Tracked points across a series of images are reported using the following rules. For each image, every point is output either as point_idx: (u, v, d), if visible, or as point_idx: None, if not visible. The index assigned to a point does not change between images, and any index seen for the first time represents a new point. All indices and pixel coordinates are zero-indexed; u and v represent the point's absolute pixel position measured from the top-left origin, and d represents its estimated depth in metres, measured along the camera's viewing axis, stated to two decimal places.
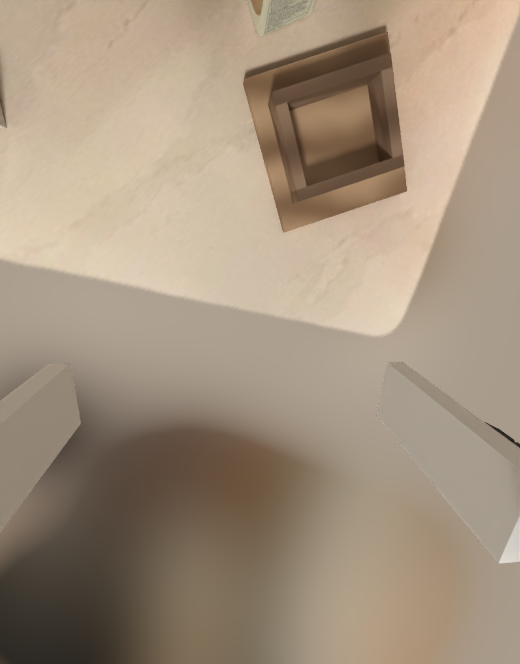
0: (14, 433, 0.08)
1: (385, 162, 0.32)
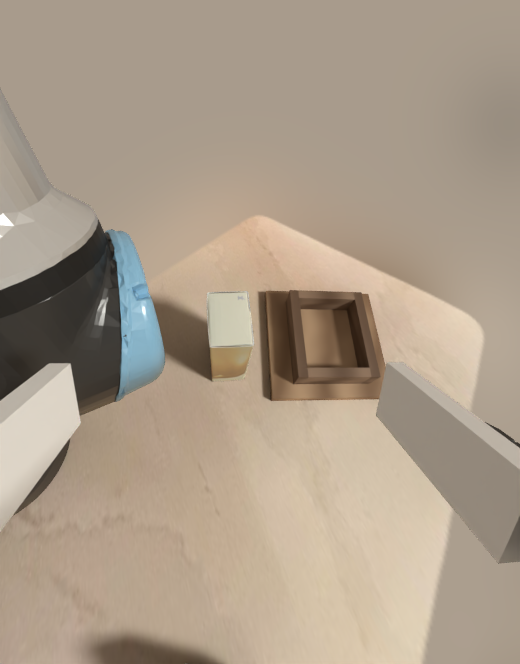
0: (14, 433, 0.08)
1: (357, 304, 0.41)
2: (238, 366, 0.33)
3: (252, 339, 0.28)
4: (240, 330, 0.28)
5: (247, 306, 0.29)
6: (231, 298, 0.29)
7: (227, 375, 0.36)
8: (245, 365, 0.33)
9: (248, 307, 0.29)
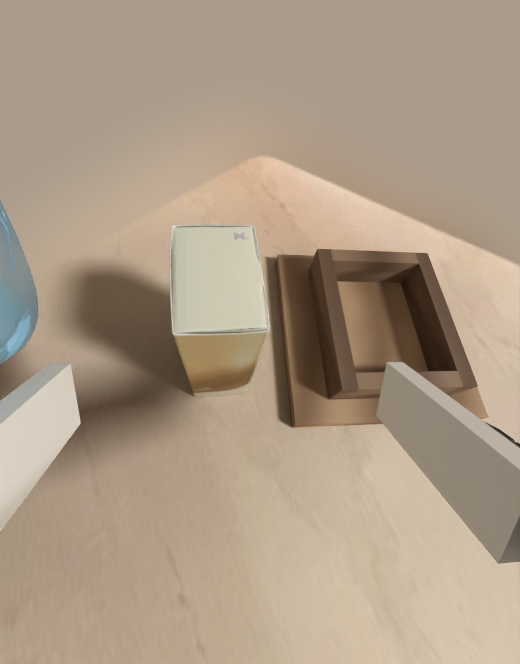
0: (14, 433, 0.08)
1: (424, 271, 0.26)
2: (238, 373, 0.18)
3: (266, 317, 0.13)
4: (239, 300, 0.13)
5: (254, 252, 0.14)
6: (221, 237, 0.14)
7: (218, 387, 0.21)
8: (250, 371, 0.18)
9: (256, 254, 0.14)
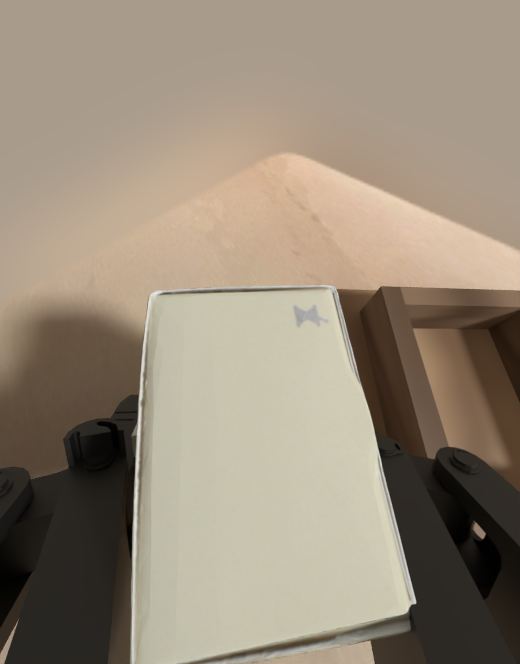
0: None
1: None
2: None
3: (404, 573, 0.05)
4: (327, 517, 0.05)
5: (344, 358, 0.06)
6: (267, 319, 0.06)
7: None
8: None
9: (349, 362, 0.06)
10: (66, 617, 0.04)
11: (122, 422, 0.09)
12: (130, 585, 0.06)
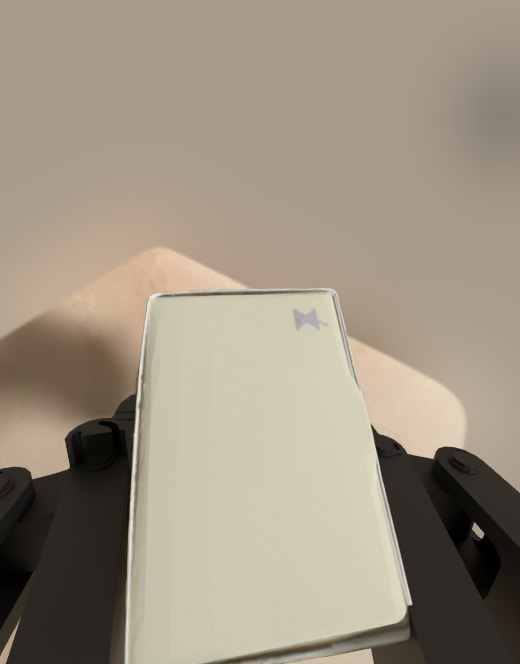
0: None
1: None
2: None
3: (401, 581, 0.05)
4: (324, 522, 0.05)
5: (343, 361, 0.06)
6: (266, 322, 0.06)
7: None
8: None
9: (348, 366, 0.06)
10: (67, 617, 0.04)
11: (123, 422, 0.09)
12: None
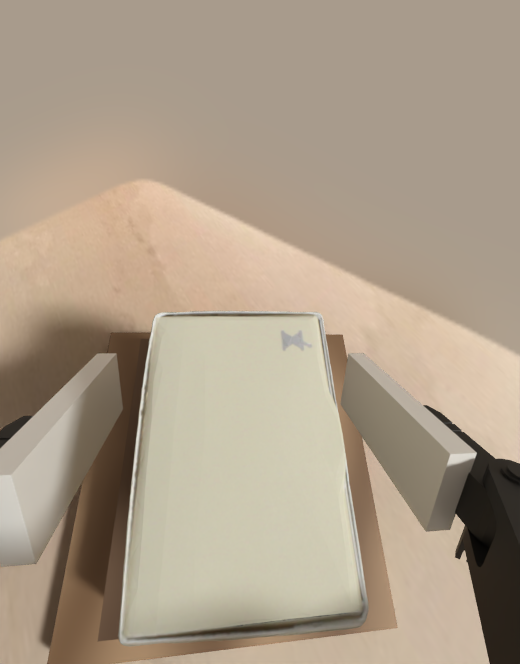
0: (81, 412, 0.09)
1: None
2: None
3: (359, 576, 0.05)
4: (294, 522, 0.05)
5: (323, 380, 0.07)
6: (256, 343, 0.07)
7: None
8: None
9: (327, 385, 0.07)
10: None
11: None
12: None
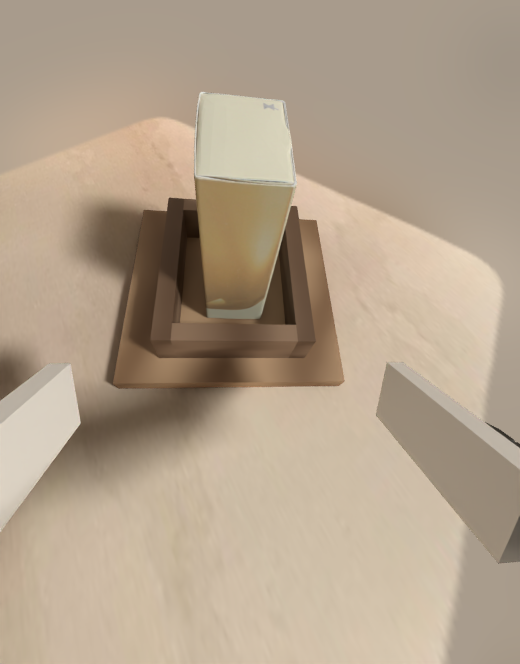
0: (14, 433, 0.08)
1: (287, 223, 0.24)
2: (255, 274, 0.17)
3: (293, 175, 0.12)
4: (266, 156, 0.12)
5: (283, 121, 0.14)
6: (250, 105, 0.14)
7: (232, 301, 0.20)
8: (267, 273, 0.17)
9: (285, 123, 0.14)
10: None
11: None
12: None
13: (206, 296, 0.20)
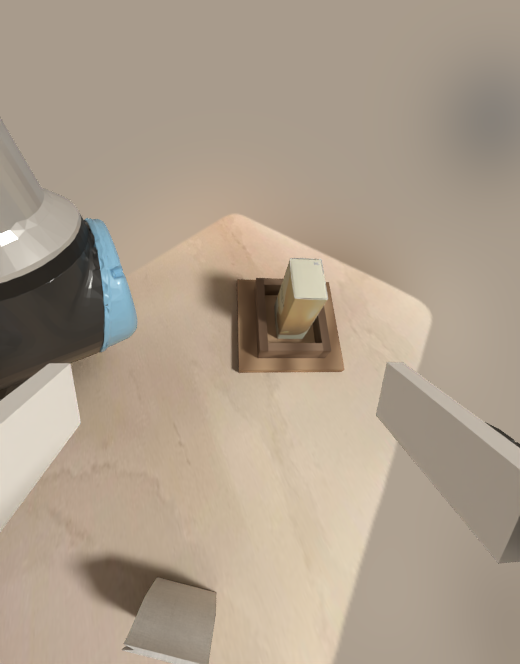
0: (14, 433, 0.08)
1: None
2: (306, 322, 0.41)
3: (326, 294, 0.36)
4: (317, 287, 0.36)
5: (321, 270, 0.37)
6: (309, 263, 0.37)
7: (292, 331, 0.43)
8: (311, 322, 0.41)
9: (322, 271, 0.37)
10: None
11: None
12: None
13: (281, 330, 0.43)
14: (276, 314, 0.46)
